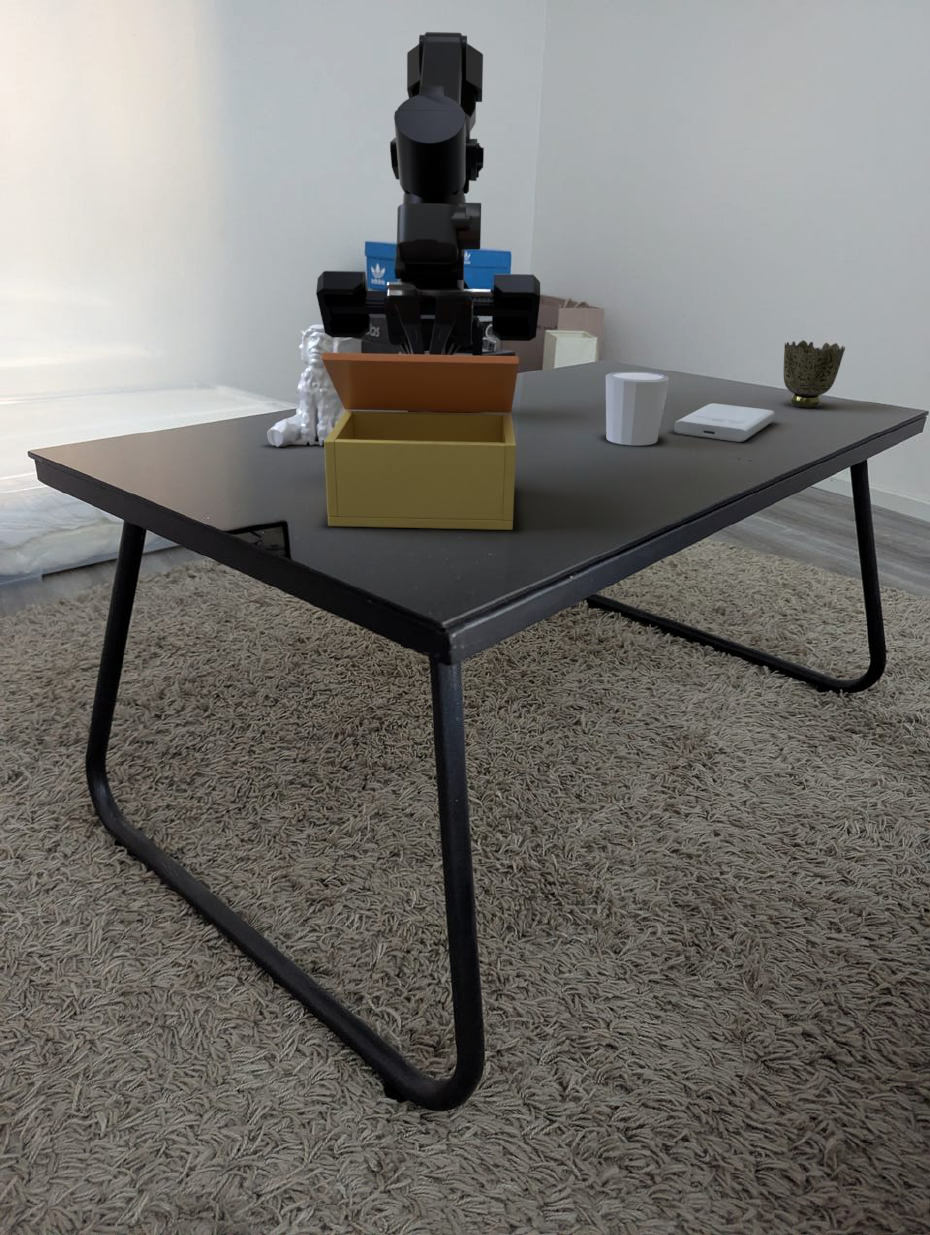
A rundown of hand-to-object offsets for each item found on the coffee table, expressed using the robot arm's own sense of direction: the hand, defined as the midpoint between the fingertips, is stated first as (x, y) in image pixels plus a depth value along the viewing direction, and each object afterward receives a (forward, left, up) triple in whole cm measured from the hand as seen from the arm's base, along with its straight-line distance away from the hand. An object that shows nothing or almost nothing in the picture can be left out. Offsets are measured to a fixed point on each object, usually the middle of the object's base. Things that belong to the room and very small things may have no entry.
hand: (426, 388), depth 74 cm
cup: (+19, +64, -10) cm, 67 cm away
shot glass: (+7, +32, -10) cm, 34 cm away
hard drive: (+14, +44, -10) cm, 47 cm away
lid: (+1, -2, 0) cm, 2 cm away
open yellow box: (+1, -2, -9) cm, 10 cm away
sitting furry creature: (-21, +12, -10) cm, 26 cm away
